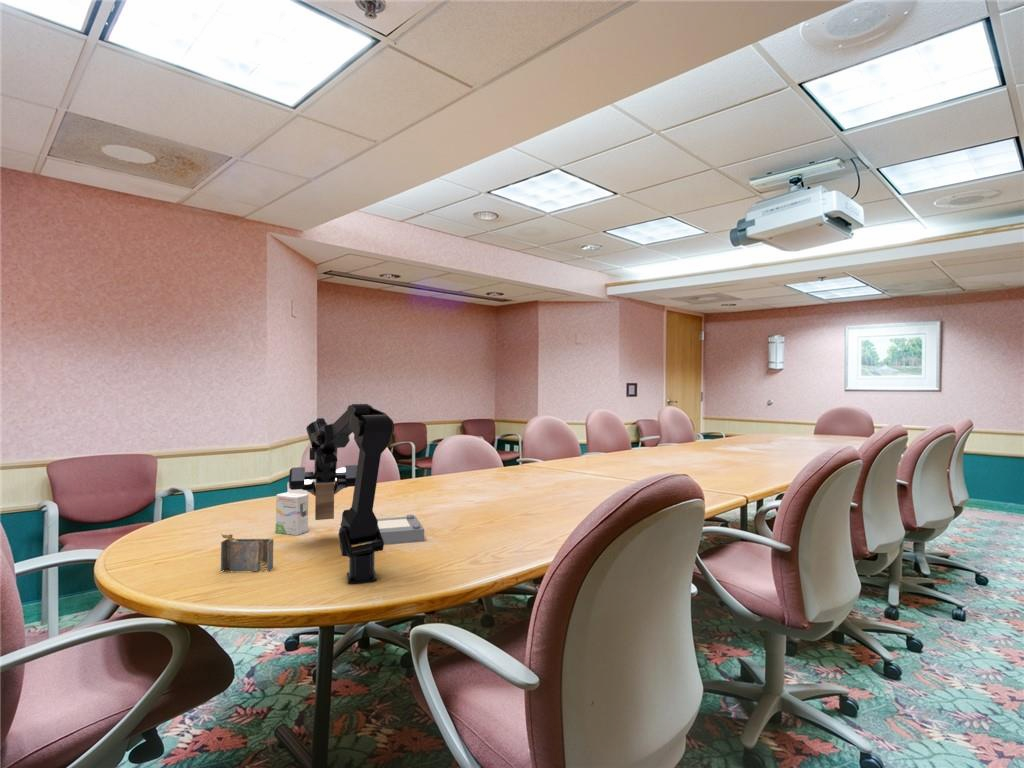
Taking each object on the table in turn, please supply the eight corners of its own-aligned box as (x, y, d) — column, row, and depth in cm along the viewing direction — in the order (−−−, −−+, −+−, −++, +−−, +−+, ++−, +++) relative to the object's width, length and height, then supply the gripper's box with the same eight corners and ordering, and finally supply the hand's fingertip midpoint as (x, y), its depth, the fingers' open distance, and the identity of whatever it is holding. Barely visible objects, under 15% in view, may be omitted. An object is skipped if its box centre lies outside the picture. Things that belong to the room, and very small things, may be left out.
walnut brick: (333, 518, 151) (334, 483, 151) (315, 520, 149) (315, 484, 149) (333, 514, 156) (333, 481, 156) (315, 516, 154) (315, 482, 154)
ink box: (274, 533, 160) (275, 484, 160) (286, 529, 164) (286, 481, 164) (297, 536, 157) (298, 486, 157) (308, 531, 162) (309, 483, 162)
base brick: (424, 541, 153) (424, 526, 153) (367, 546, 148) (367, 530, 148) (415, 527, 168) (415, 513, 168) (363, 531, 163) (364, 517, 163)
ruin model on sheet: (219, 574, 126) (220, 534, 126) (226, 570, 129) (226, 530, 129) (267, 574, 126) (268, 534, 126) (272, 570, 129) (273, 530, 129)
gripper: (359, 437, 152) (356, 470, 163) (290, 439, 146) (291, 473, 156) (361, 468, 145) (358, 500, 155) (288, 471, 138) (289, 505, 148)
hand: (324, 493), depth 154 cm, fingers closed on walnut brick, 5 cm apart
